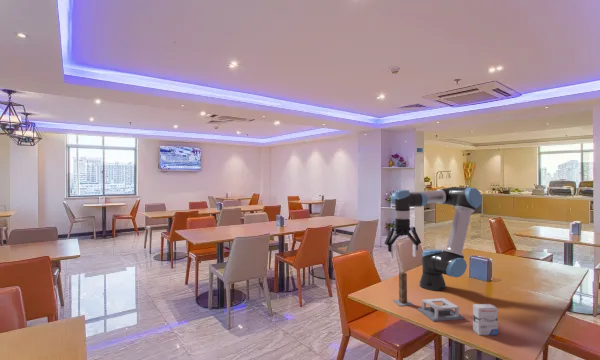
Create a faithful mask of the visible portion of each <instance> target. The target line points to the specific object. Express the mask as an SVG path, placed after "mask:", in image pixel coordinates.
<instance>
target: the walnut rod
mask: <svg viewBox="0 0 600 360" xmlns="http://www.w3.org/2000/svg"><path fill="white" fill-rule="evenodd" d="M398 295H399V296H398V300H399V302H401V303H407V300H408V274H407V272H406V271H399V272H398Z"/></svg>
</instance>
